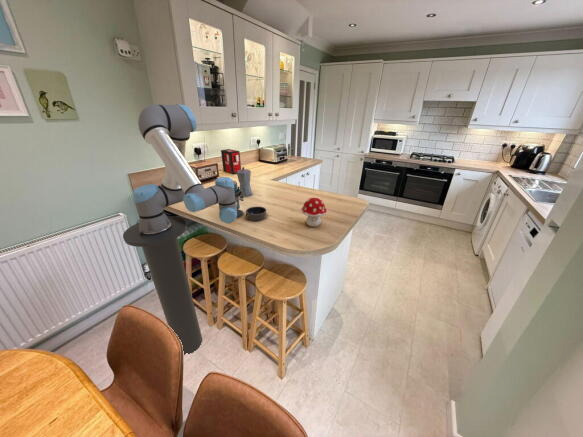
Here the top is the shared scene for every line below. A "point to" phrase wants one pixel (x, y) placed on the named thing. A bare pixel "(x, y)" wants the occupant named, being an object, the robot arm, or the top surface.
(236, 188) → the can
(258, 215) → the bowl
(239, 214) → the coaster
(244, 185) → the moka pot
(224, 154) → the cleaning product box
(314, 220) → the decorative mushroom
